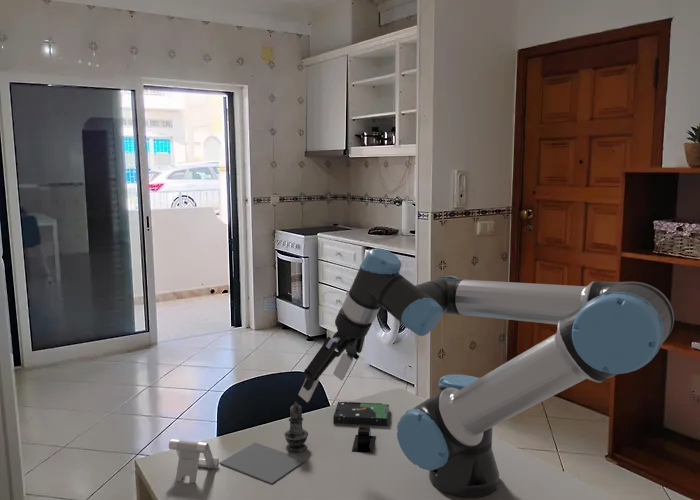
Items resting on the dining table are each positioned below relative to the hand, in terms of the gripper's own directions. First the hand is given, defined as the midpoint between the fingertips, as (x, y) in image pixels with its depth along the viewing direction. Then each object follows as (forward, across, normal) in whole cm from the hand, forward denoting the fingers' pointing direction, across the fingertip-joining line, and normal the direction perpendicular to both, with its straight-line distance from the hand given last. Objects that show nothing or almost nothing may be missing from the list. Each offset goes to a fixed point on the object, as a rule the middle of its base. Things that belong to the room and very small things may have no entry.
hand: (321, 386), depth 131 cm
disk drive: (+20, -25, +5) cm, 33 cm away
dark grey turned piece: (+21, -1, +1) cm, 21 cm away
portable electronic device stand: (+26, +20, -11) cm, 35 cm away
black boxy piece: (+16, -12, +13) cm, 23 cm away
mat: (+21, +8, -2) cm, 23 cm away
